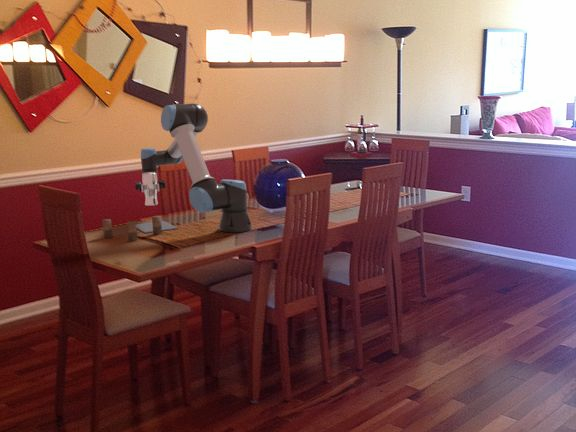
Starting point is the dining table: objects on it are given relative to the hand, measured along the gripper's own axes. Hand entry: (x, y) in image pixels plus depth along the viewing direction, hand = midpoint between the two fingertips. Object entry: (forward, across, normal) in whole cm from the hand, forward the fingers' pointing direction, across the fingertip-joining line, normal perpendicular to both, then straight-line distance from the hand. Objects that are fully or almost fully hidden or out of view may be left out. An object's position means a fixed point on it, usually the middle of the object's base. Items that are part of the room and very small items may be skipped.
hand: (150, 188), depth 328 cm
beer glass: (-5, 0, -8) cm, 10 cm away
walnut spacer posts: (+11, +8, -20) cm, 24 cm away
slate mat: (-6, -1, -20) cm, 21 cm away
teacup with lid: (-43, -47, -20) cm, 67 cm away
